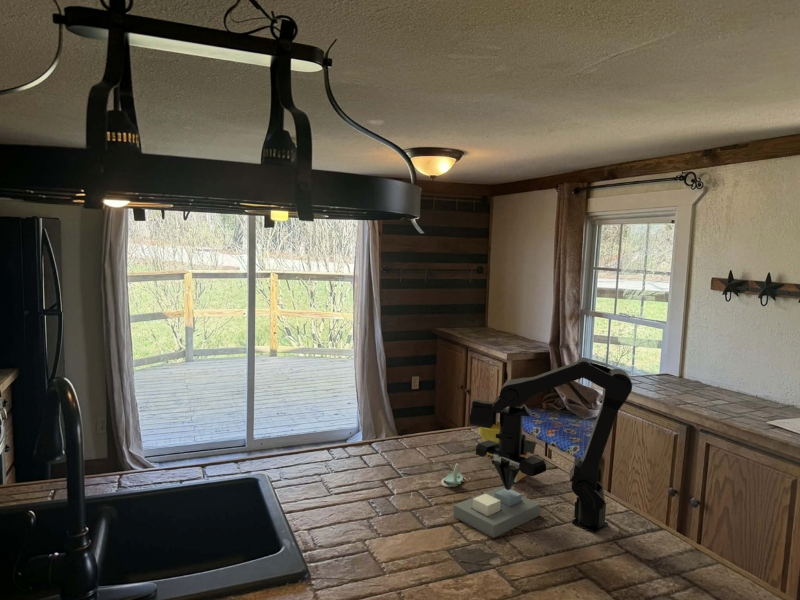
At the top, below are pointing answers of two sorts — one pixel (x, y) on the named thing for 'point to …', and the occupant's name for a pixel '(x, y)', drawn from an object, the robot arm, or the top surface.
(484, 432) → the plant pot
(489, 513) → the cream key
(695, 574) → the top surface
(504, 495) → the slate key
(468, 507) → the keypad
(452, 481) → the pacifier
